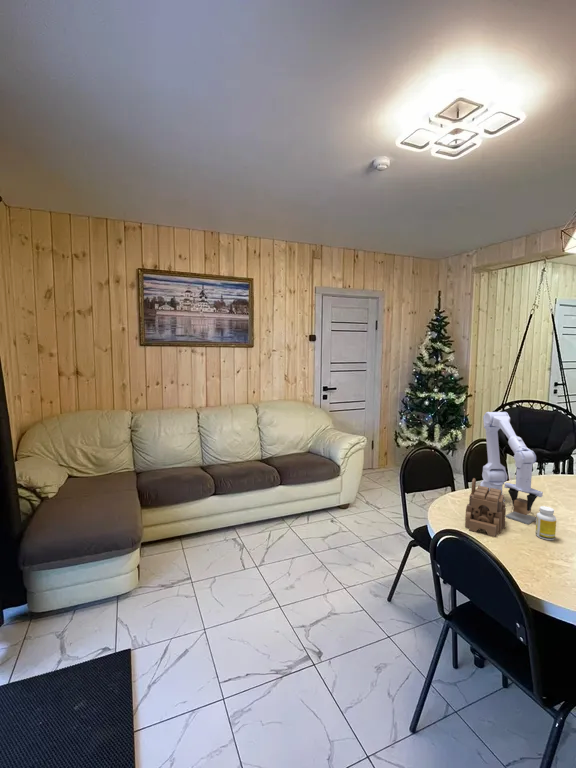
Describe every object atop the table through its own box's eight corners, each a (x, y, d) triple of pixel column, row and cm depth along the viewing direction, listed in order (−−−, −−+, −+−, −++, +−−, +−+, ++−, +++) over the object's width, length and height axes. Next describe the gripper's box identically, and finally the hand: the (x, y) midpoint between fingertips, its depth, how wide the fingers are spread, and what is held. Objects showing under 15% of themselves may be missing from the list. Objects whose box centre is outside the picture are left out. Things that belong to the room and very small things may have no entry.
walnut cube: (513, 511, 167) (514, 500, 166) (518, 508, 170) (518, 497, 169) (525, 515, 163) (526, 503, 162) (530, 512, 166) (531, 501, 165)
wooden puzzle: (501, 539, 148) (504, 492, 146) (460, 528, 156) (463, 484, 154) (507, 519, 165) (509, 477, 164) (470, 511, 174) (472, 471, 172)
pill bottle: (558, 541, 146) (560, 512, 145) (539, 539, 147) (541, 511, 146) (550, 534, 152) (552, 506, 151) (532, 532, 153) (534, 504, 152)
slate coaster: (505, 517, 167) (505, 515, 167) (514, 512, 173) (514, 510, 173) (528, 524, 160) (528, 522, 160) (536, 519, 165) (536, 517, 165)
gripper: (502, 475, 168) (500, 504, 169) (538, 484, 157) (536, 515, 158) (509, 472, 173) (507, 501, 174) (545, 480, 161) (543, 511, 162)
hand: (521, 508), depth 166 cm, fingers closed on walnut cube, 5 cm apart
